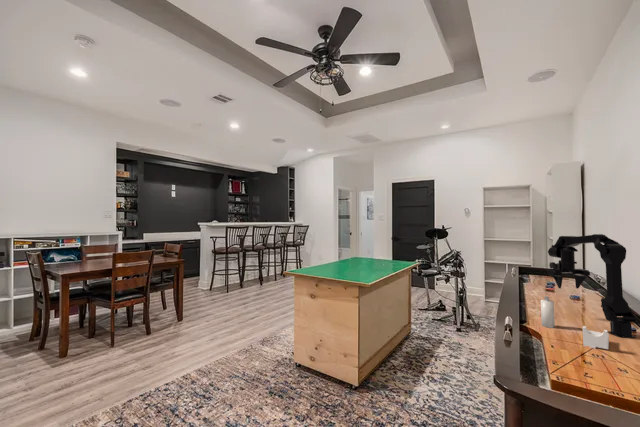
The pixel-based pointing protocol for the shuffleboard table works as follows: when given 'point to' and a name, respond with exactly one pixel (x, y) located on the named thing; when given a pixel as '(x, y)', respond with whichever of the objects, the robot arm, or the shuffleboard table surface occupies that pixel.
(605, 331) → the bracket
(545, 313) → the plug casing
